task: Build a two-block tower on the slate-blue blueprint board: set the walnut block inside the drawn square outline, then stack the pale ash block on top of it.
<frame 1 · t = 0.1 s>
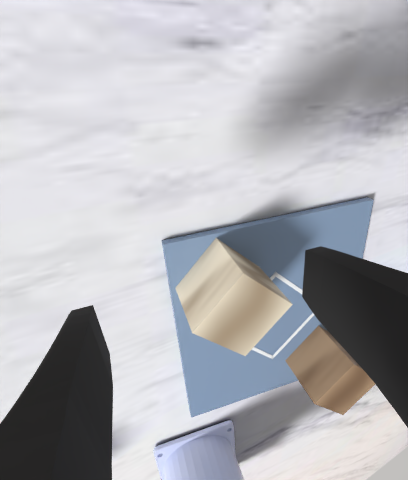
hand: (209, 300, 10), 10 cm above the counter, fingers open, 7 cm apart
walnut block: (315, 350, 29), point 1 cm above the counter, touching blueprint board
blueprint board: (270, 314, 26), on the counter
ash block: (218, 277, 22), point 1 cm above the counter, touching blueprint board
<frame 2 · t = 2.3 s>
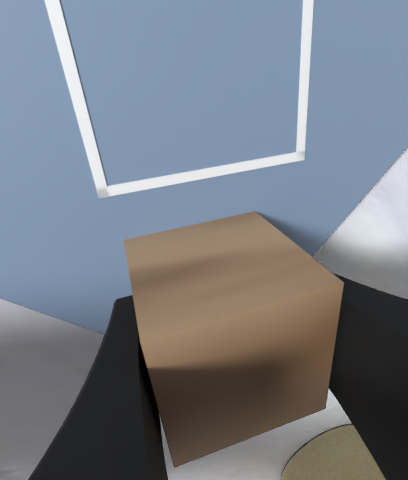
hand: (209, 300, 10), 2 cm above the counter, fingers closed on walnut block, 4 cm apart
walnut block: (199, 280, 11), point 1 cm above the counter, touching blueprint board, gripper
blueprint board: (191, 54, 9), on the counter
plant pot: (325, 453, 22), on the counter
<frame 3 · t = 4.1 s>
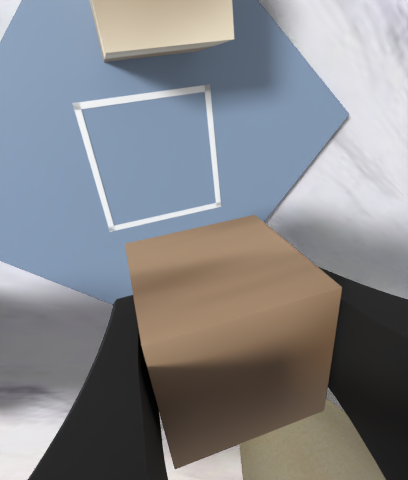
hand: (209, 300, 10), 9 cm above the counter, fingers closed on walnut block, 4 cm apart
walnut block: (199, 283, 11), point 8 cm above the counter, touching gripper
blueprint board: (155, 159, 17), on the counter
plant pot: (271, 399, 31), on the counter
when the fingers open (3 cm above the counter, at t = 5.9 s): walnut block drops 1 cm, resting on blueprint board.
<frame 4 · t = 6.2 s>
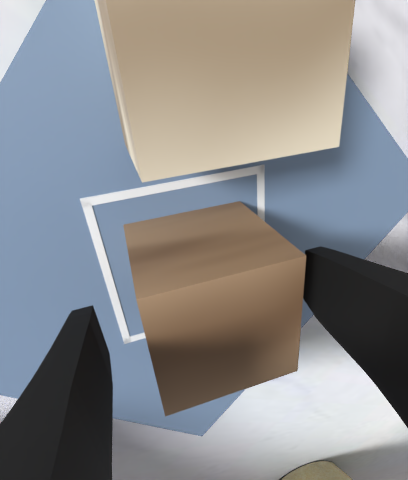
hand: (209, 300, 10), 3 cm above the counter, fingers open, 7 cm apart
walnut block: (190, 263, 13), point 1 cm above the counter, touching blueprint board
blueprint board: (185, 253, 13), on the counter
ash block: (183, 56, 9), point 1 cm above the counter, touching blueprint board
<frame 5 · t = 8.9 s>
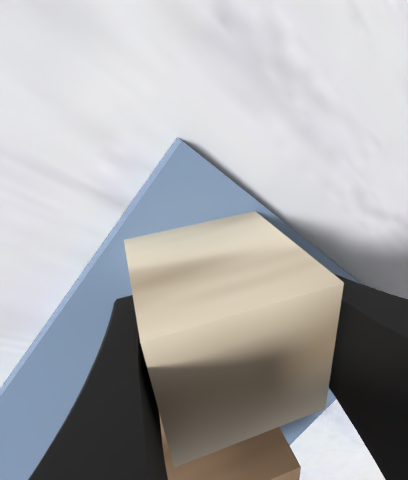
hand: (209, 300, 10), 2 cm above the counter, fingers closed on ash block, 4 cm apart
walnut block: (201, 408, 14), point 1 cm above the counter, touching blueprint board
blueprint board: (197, 395, 15), on the counter
ash block: (199, 280, 11), point 1 cm above the counter, touching blueprint board, gripper
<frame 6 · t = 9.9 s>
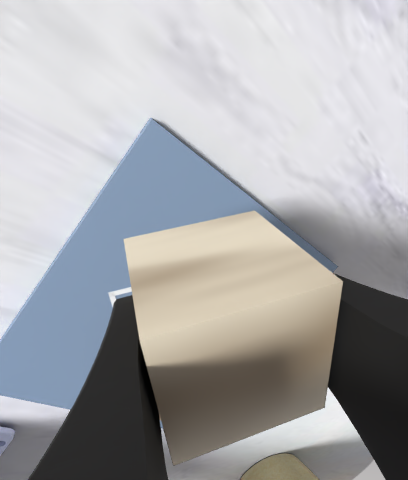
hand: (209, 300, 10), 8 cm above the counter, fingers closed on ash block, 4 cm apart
blueprint board: (172, 314, 20), on the counter
ash block: (199, 279, 11), point 7 cm above the counter, touching gripper
plant pot: (267, 471, 34), on the counter
when the fingers open (7 cm above the counter, at t = 11.4 s): ash block drops 1 cm, resting on walnut block.
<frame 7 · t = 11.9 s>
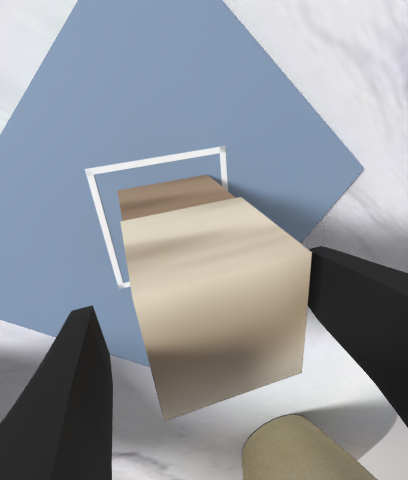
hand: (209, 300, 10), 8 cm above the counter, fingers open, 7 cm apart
walnut block: (170, 223, 16), point 1 cm above the counter, touching ash block, blueprint board
blueprint board: (166, 217, 17), on the counter
ash block: (190, 261, 12), point 5 cm above the counter, touching walnut block
plant pot: (276, 436, 30), on the counter
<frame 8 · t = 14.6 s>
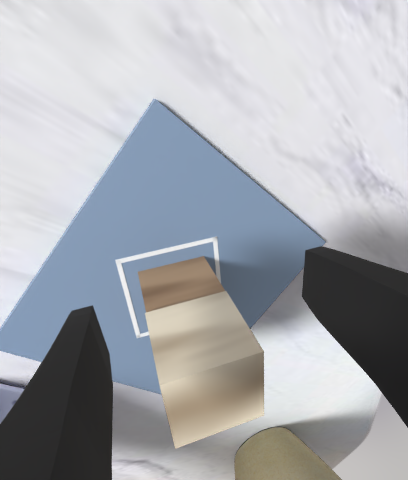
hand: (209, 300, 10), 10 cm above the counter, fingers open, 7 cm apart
walnut block: (176, 290, 21), point 1 cm above the counter, touching ash block, blueprint board
blueprint board: (173, 284, 22), on the counter
ash block: (191, 332, 17), point 5 cm above the counter, touching walnut block
plant pot: (263, 445, 36), on the counter
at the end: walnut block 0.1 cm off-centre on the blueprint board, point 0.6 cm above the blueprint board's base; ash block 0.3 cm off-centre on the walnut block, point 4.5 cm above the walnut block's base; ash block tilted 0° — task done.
